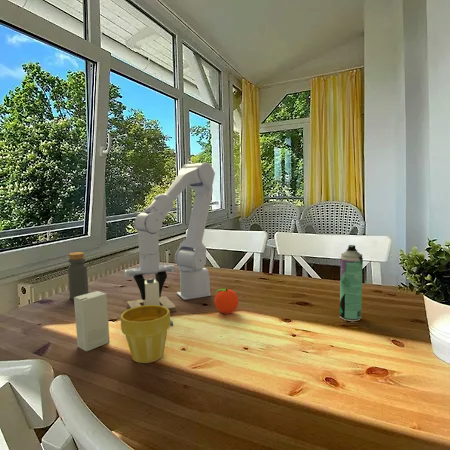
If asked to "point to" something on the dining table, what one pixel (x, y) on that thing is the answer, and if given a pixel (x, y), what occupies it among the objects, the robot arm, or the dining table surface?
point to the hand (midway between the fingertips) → (151, 297)
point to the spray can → (351, 284)
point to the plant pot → (146, 331)
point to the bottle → (77, 275)
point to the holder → (163, 300)
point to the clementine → (226, 301)
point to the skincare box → (91, 320)
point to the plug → (151, 292)
